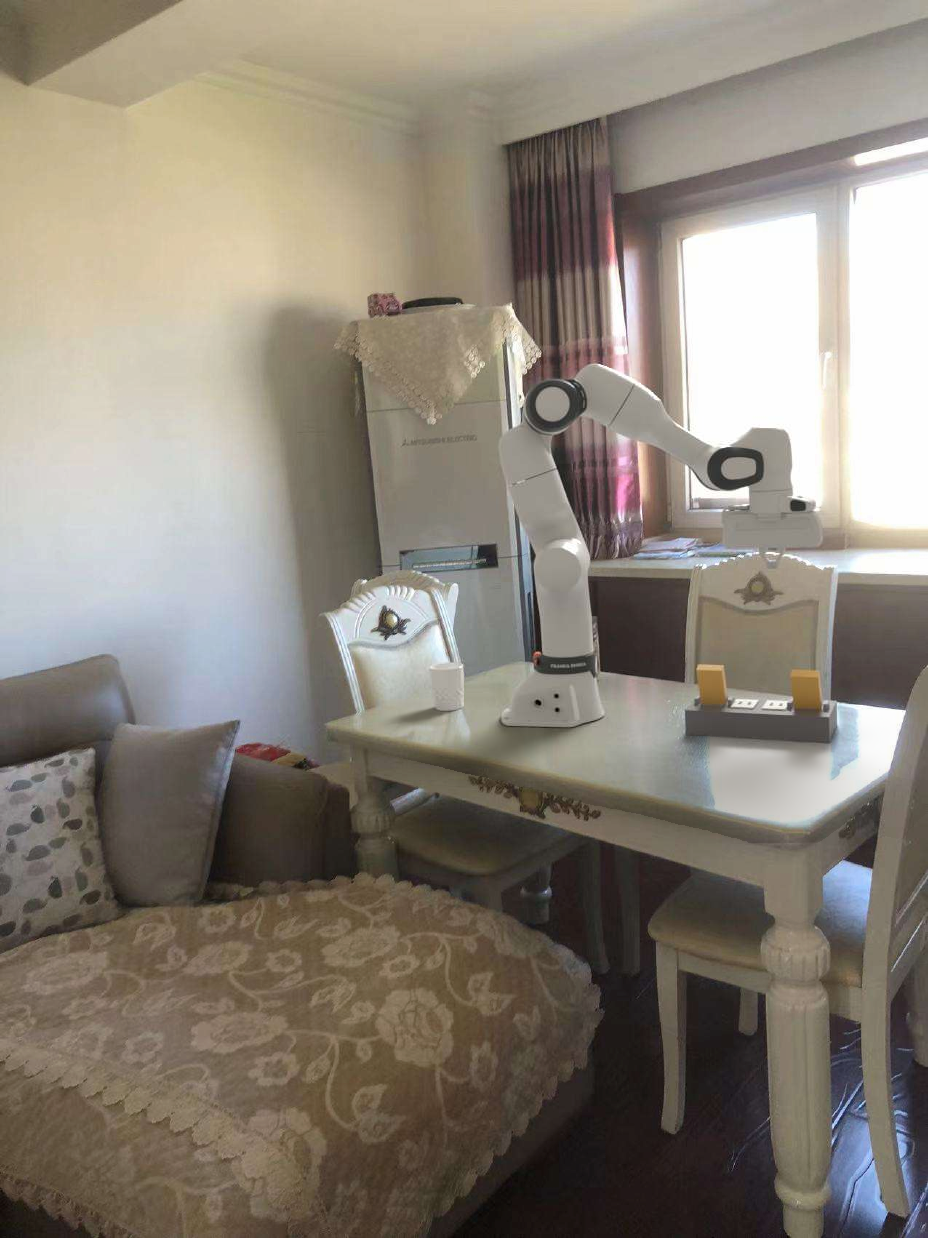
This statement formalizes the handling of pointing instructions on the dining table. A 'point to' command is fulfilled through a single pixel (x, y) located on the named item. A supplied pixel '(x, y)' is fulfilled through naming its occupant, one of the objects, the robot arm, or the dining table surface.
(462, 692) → the white cup
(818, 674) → the switch
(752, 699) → the power box
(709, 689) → the switch
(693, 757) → the dining table surface
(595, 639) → the coffee box
